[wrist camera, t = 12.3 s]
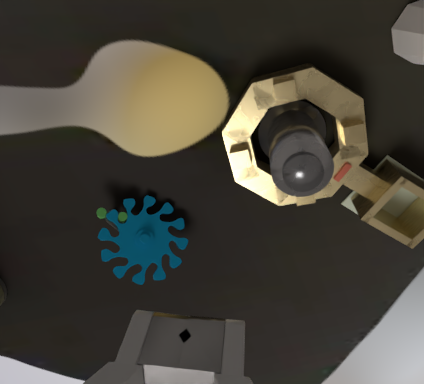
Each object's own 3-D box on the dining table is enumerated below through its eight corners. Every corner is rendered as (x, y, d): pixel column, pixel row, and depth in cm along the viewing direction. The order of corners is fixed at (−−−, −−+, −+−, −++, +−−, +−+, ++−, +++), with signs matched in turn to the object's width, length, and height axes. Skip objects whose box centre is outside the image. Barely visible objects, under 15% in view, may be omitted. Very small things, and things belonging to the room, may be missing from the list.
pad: (340, 203, 40) (341, 204, 40) (387, 154, 37) (387, 155, 37) (388, 233, 41) (389, 234, 41) (437, 188, 38) (438, 189, 38)
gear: (205, 229, 42) (153, 303, 38) (194, 234, 47) (147, 299, 44) (129, 171, 41) (69, 241, 37) (127, 182, 46) (74, 245, 43)
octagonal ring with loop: (206, 153, 39) (201, 170, 35) (274, 40, 33) (276, 45, 29) (375, 248, 42) (386, 271, 38) (464, 161, 36) (488, 179, 32)
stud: (261, 98, 35) (264, 130, 27) (331, 102, 35) (356, 135, 26) (255, 161, 39) (256, 207, 30) (319, 165, 38) (338, 214, 30)
